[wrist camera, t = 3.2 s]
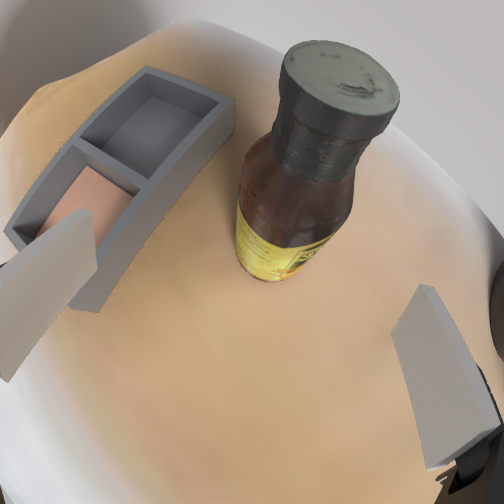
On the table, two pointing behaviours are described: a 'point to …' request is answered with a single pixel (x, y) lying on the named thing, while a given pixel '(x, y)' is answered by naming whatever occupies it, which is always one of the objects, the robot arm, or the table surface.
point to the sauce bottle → (309, 156)
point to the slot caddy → (126, 170)
